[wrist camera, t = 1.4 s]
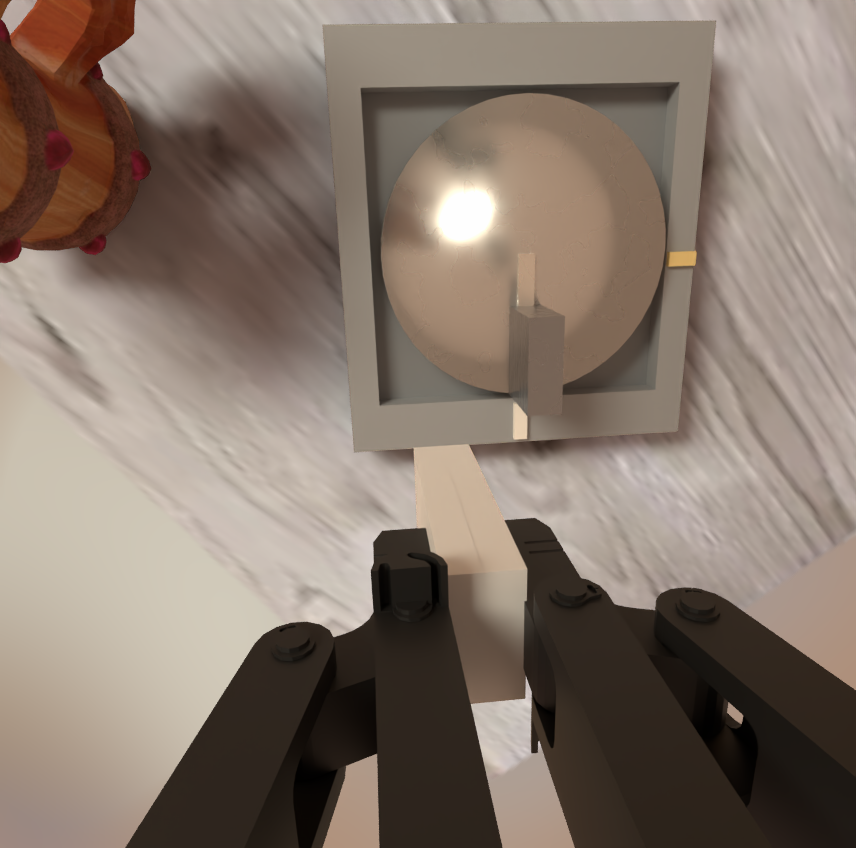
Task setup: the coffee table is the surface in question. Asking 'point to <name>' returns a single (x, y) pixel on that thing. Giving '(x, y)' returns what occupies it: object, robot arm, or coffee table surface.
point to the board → (433, 106)
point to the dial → (523, 245)
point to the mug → (64, 128)
